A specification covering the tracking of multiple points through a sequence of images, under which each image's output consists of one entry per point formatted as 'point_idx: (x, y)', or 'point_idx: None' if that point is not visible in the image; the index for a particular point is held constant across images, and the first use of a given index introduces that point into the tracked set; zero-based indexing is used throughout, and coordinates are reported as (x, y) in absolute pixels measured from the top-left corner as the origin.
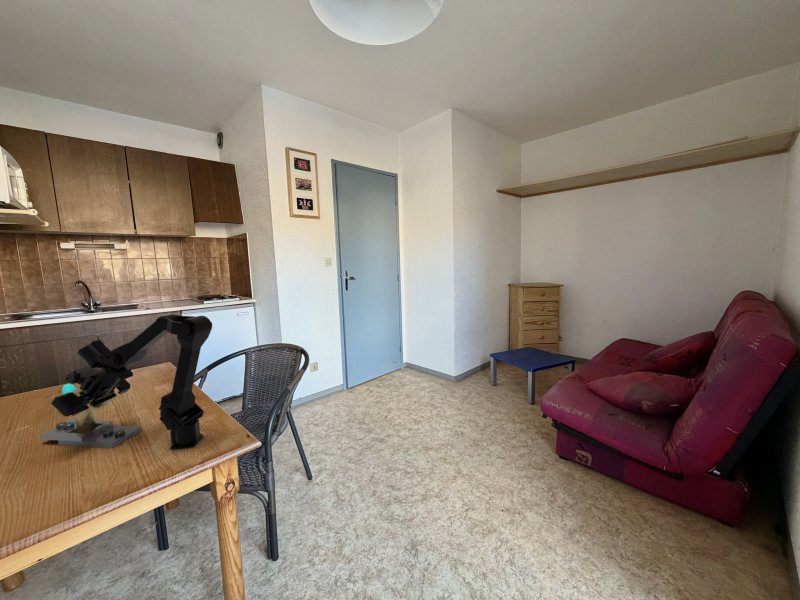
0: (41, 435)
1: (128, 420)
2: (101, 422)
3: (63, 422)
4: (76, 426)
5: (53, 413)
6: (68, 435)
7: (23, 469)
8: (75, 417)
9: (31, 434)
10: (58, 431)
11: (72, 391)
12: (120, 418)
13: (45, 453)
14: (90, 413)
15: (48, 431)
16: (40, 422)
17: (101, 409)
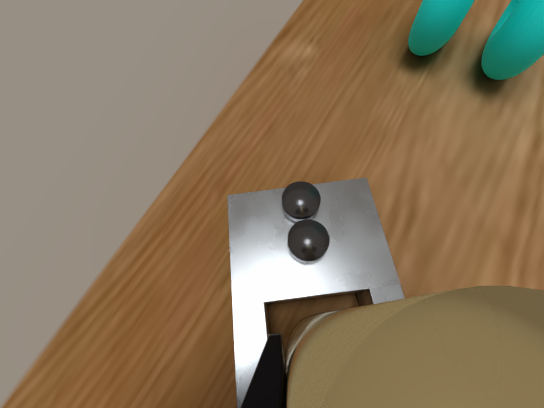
0: (228, 204)
1: None
2: None
3: (313, 191)
4: (288, 346)
5: (385, 29)
6: (241, 353)
7: (69, 380)
8: (288, 358)
9: (277, 110)
10: (264, 241)
11: (372, 354)
12: None
13: (181, 317)
14: None
15: (255, 198)
16: (336, 55)
17: (485, 123)
